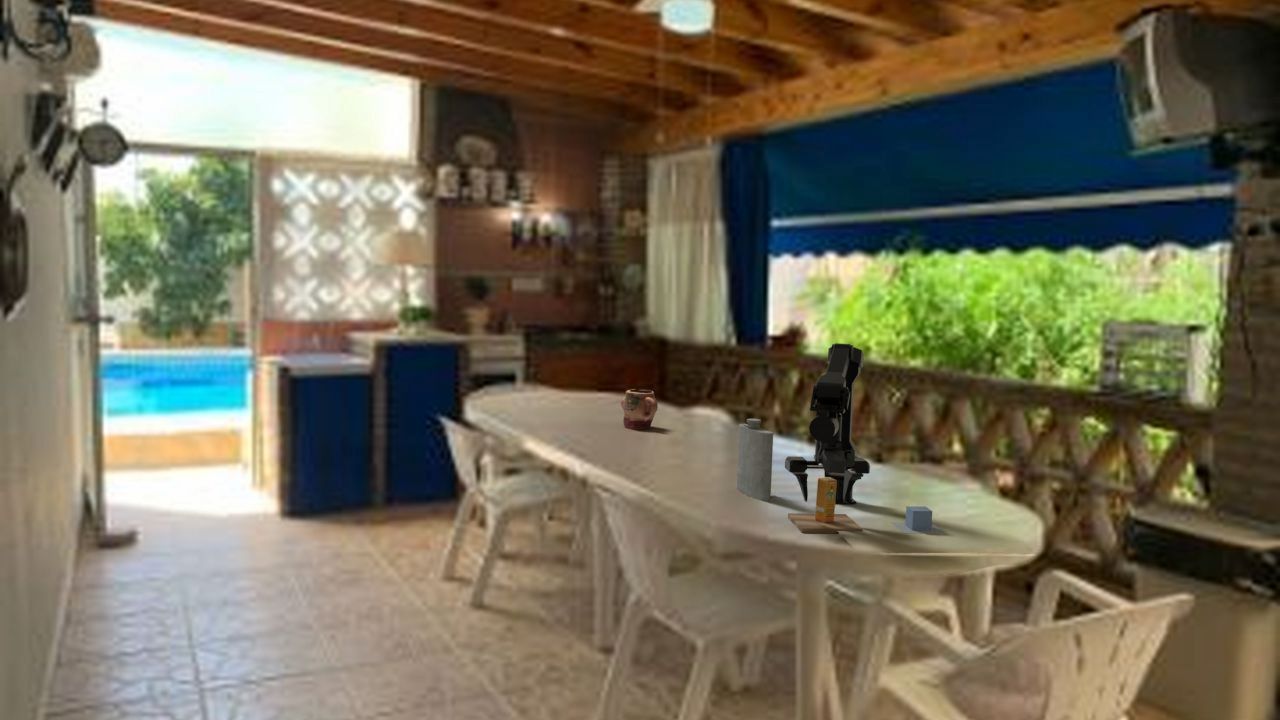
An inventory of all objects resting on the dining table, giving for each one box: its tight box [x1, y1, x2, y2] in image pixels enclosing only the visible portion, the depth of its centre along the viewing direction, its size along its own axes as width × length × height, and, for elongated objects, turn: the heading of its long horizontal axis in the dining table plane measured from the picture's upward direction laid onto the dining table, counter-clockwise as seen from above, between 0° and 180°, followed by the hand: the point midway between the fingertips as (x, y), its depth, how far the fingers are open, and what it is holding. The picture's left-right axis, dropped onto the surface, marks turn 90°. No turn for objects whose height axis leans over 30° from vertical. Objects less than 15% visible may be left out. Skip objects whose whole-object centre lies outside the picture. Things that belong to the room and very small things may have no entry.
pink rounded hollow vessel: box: [620, 388, 659, 430], centre depth 370 cm, size 20×12×14 cm, turn 36°
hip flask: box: [736, 418, 774, 502], centre depth 265 cm, size 16×4×20 cm, turn 20°
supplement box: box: [814, 477, 837, 523], centre depth 234 cm, size 3×3×10 cm
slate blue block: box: [905, 505, 933, 531], centre depth 232 cm, size 4×4×4 cm
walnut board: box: [787, 512, 863, 534], centre depth 235 cm, size 14×14×1 cm
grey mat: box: [889, 521, 948, 535], centre depth 232 cm, size 10×10×1 cm
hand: (825, 501), depth 234 cm, fingers open, 9 cm apart
